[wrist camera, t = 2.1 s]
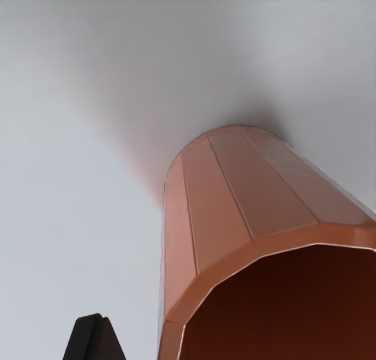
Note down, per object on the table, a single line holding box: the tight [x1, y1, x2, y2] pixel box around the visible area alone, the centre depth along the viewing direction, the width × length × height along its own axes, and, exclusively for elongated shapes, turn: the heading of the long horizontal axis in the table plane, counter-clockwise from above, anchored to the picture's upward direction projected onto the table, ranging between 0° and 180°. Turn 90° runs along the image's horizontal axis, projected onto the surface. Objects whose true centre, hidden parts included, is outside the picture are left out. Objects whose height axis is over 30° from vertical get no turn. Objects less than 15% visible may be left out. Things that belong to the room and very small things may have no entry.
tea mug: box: [157, 125, 376, 360], centre depth 12 cm, size 10×7×9 cm
